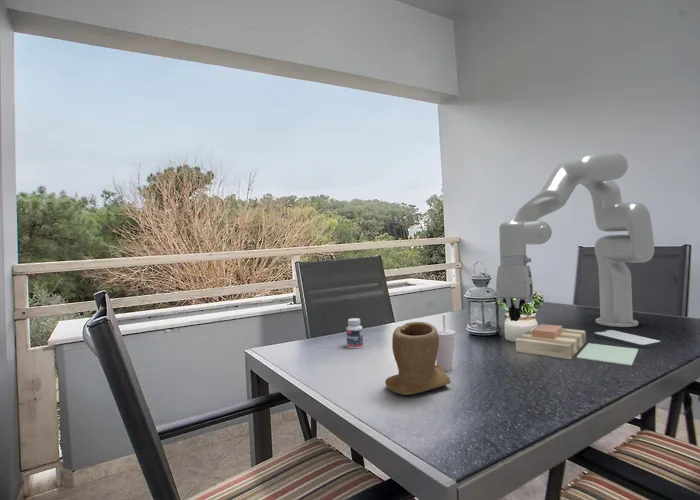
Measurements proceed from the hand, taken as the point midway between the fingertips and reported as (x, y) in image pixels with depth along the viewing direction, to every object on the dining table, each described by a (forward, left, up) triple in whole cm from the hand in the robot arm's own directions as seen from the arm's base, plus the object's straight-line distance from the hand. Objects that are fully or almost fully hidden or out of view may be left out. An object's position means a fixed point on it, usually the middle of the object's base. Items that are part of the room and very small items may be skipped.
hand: (514, 320), depth 121 cm
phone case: (-18, +26, -8) cm, 33 cm away
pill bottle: (+30, -41, -7) cm, 51 cm away
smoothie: (+34, -7, -7) cm, 35 cm away
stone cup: (+49, -5, -7) cm, 49 cm away
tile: (0, +9, -4) cm, 10 cm away
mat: (0, +24, -7) cm, 25 cm away
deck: (0, +10, -7) cm, 12 cm away
